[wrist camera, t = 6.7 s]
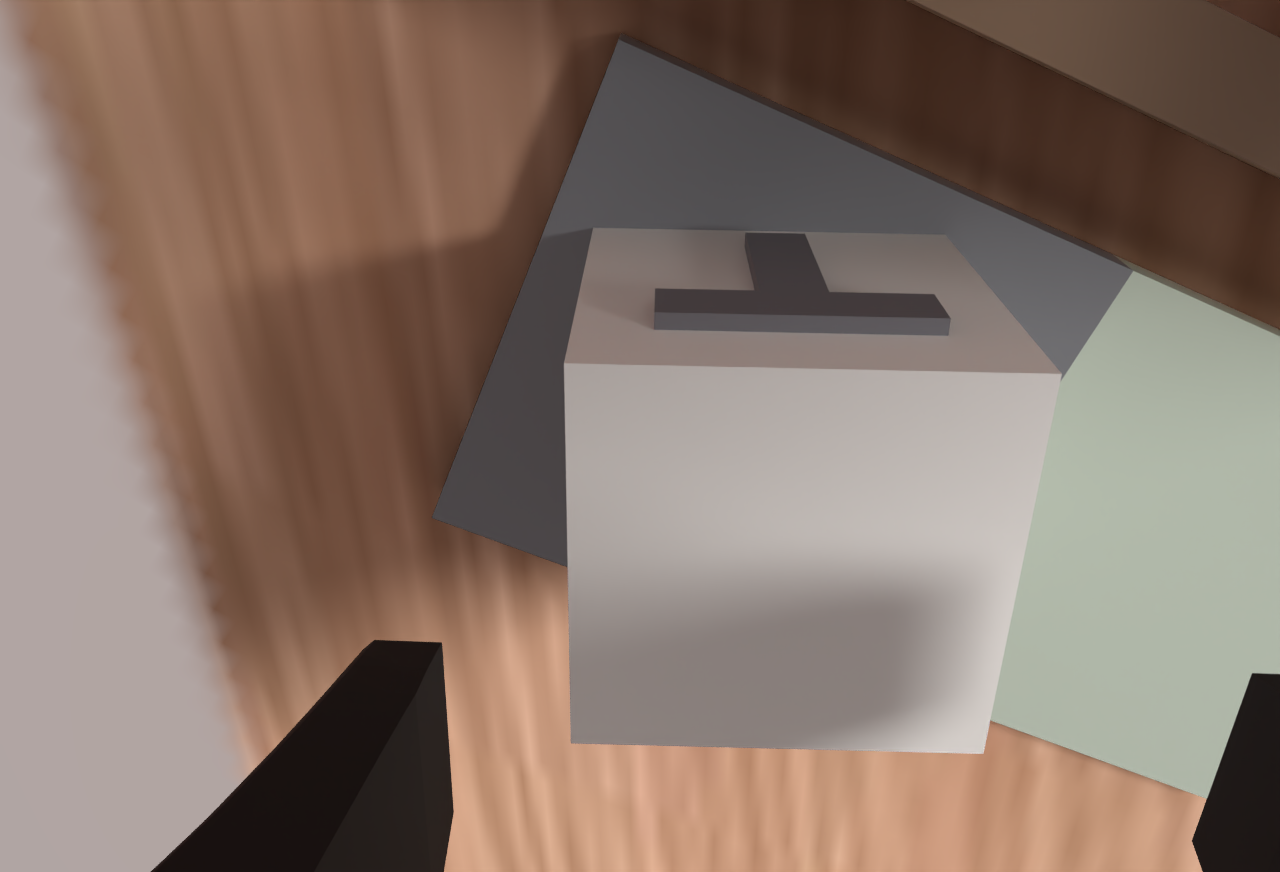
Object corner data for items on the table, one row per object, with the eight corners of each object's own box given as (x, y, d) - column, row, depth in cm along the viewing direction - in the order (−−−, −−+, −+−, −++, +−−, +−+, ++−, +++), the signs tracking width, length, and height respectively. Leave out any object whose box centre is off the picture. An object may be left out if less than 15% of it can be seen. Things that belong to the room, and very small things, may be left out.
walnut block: (1736, 299, 16) (1991, 395, 13) (1673, 367, 17) (1905, 474, 14) (490, -317, 13) (436, -388, 10) (459, -212, 14) (399, -246, 10)
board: (1532, 444, 17) (1570, 466, 17) (1227, 781, 21) (1247, 814, 20) (621, 32, 15) (618, 39, 14) (440, 493, 18) (432, 518, 18)
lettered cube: (946, 220, 15) (1066, 355, 11) (901, 534, 17) (983, 753, 13) (592, 213, 15) (563, 344, 11) (594, 528, 18) (570, 743, 13)
